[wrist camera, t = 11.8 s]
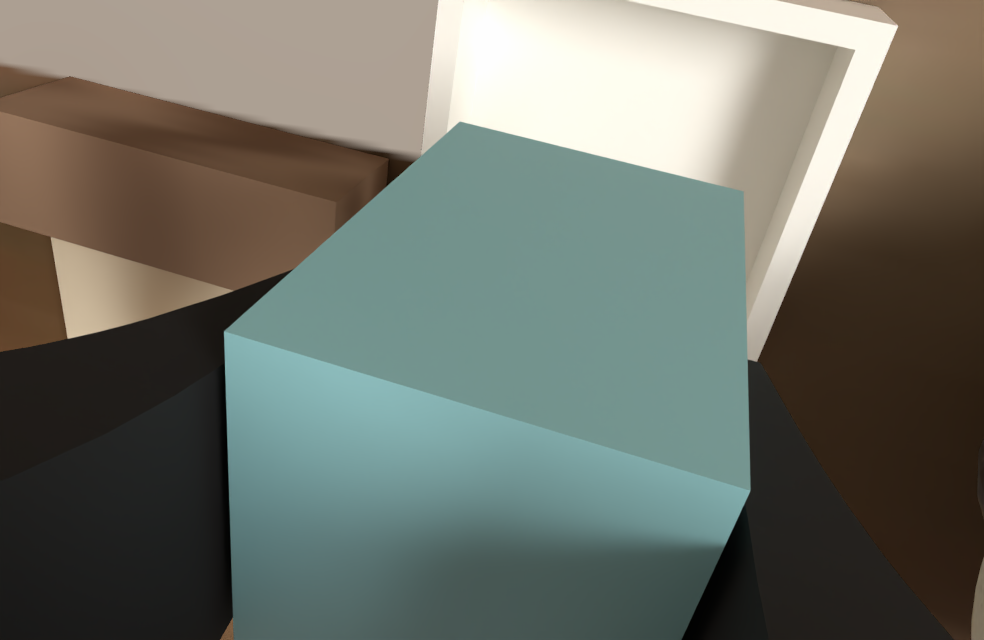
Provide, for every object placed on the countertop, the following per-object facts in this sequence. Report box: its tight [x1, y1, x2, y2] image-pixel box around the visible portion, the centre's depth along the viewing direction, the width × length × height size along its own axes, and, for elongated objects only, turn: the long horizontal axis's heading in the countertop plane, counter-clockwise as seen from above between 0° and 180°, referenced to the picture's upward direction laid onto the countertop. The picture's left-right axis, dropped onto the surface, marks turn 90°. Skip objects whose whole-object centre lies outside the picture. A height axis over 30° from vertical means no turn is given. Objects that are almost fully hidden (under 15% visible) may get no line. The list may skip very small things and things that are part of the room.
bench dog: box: [0, 77, 389, 291], centre depth 19 cm, size 9×3×3 cm, turn 81°
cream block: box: [51, 237, 233, 339], centre depth 23 cm, size 8×9×2 cm
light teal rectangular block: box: [224, 122, 751, 640], centre depth 9 cm, size 4×4×6 cm
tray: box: [421, 0, 898, 362], centre depth 17 cm, size 8×8×2 cm
